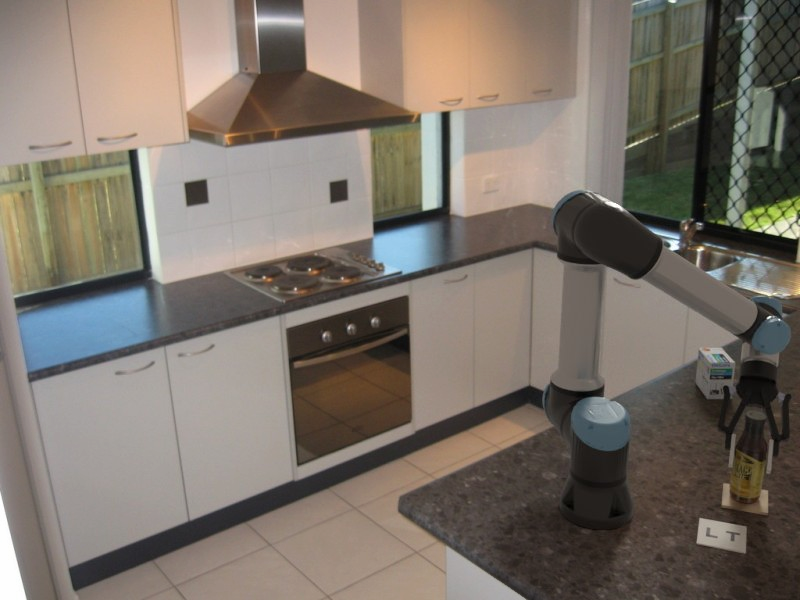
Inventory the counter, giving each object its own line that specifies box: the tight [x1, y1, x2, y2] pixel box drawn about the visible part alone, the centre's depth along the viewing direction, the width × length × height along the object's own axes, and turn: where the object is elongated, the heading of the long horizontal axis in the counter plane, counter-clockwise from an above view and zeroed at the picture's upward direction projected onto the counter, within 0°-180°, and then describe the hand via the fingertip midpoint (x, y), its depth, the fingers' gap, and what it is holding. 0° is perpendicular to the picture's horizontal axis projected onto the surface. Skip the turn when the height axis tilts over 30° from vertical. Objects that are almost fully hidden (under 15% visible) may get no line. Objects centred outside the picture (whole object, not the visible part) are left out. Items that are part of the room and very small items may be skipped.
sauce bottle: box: [729, 410, 768, 503], centre depth 177 cm, size 7×6×20 cm
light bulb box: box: [695, 347, 737, 400], centre depth 228 cm, size 11×7×11 cm, turn 179°
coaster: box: [721, 482, 769, 516], centre depth 180 cm, size 9×9×1 cm
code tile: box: [696, 517, 748, 555], centre depth 169 cm, size 9×9×1 cm
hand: (749, 468), depth 174 cm, fingers open, 6 cm apart
